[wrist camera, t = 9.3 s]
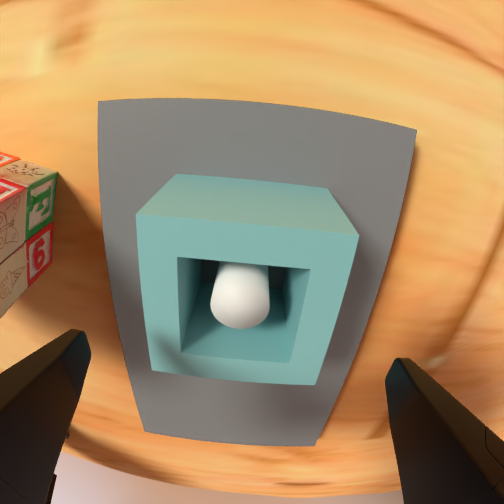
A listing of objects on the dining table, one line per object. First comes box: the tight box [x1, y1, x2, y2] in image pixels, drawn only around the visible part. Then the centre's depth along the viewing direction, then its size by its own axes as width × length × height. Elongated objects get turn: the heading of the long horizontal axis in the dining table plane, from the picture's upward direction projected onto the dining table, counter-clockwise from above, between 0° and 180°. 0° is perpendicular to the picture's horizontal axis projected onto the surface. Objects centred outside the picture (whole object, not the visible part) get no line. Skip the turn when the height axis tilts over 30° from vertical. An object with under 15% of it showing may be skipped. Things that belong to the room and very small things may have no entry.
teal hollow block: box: [136, 174, 359, 385], centre depth 13 cm, size 6×6×5 cm
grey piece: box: [98, 98, 417, 446], centre depth 16 cm, size 24×14×6 cm, turn 175°
